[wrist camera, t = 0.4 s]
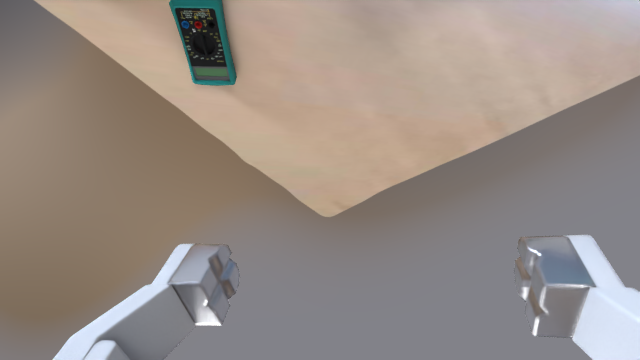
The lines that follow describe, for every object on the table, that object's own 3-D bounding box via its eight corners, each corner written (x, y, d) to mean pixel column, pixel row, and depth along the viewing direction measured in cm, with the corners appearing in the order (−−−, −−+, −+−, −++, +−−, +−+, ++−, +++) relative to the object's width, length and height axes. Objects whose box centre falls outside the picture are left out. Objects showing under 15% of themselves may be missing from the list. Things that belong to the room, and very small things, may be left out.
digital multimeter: (221, -9, 54) (216, 0, 52) (238, 78, 65) (234, 88, 63) (171, -10, 54) (165, -1, 52) (196, 77, 65) (192, 87, 63)
